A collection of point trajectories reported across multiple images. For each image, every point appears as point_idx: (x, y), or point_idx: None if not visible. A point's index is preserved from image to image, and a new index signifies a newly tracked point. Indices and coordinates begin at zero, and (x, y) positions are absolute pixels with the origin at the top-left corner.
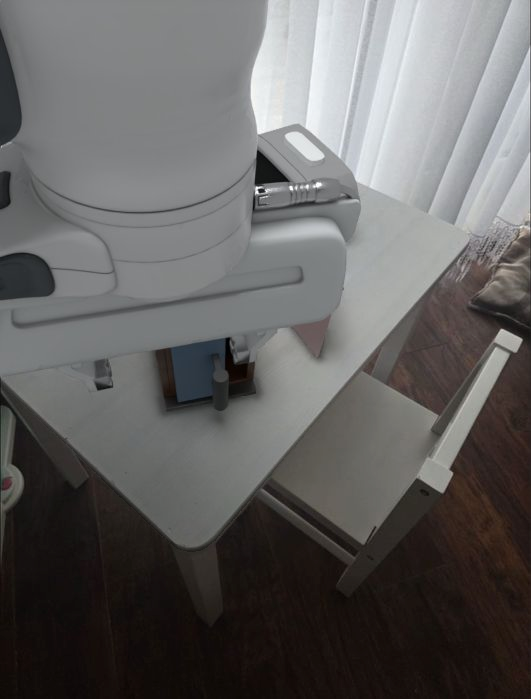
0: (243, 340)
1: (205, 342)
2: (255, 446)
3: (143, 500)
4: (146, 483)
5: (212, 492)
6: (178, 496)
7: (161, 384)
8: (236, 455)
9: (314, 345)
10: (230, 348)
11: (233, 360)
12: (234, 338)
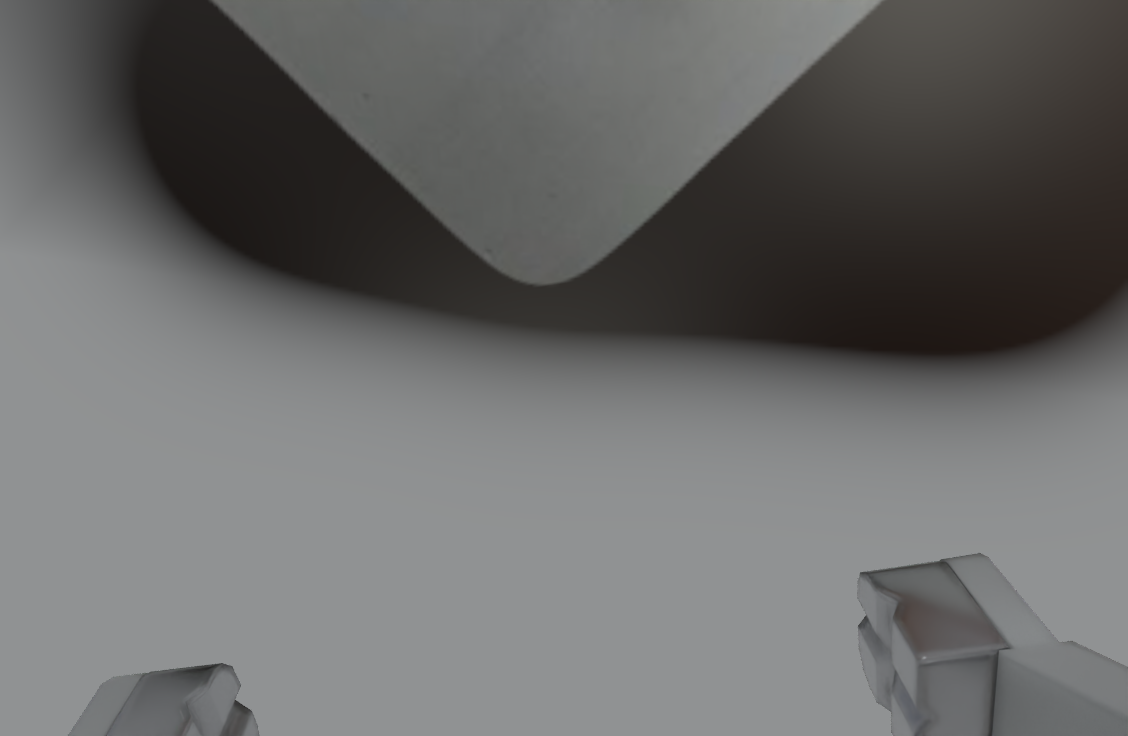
0: (980, 713)
1: None
2: (729, 45)
3: (420, 177)
4: (423, 132)
5: (595, 171)
6: (508, 174)
7: None
8: (671, 70)
9: None
10: (863, 589)
11: (858, 633)
12: (931, 704)
